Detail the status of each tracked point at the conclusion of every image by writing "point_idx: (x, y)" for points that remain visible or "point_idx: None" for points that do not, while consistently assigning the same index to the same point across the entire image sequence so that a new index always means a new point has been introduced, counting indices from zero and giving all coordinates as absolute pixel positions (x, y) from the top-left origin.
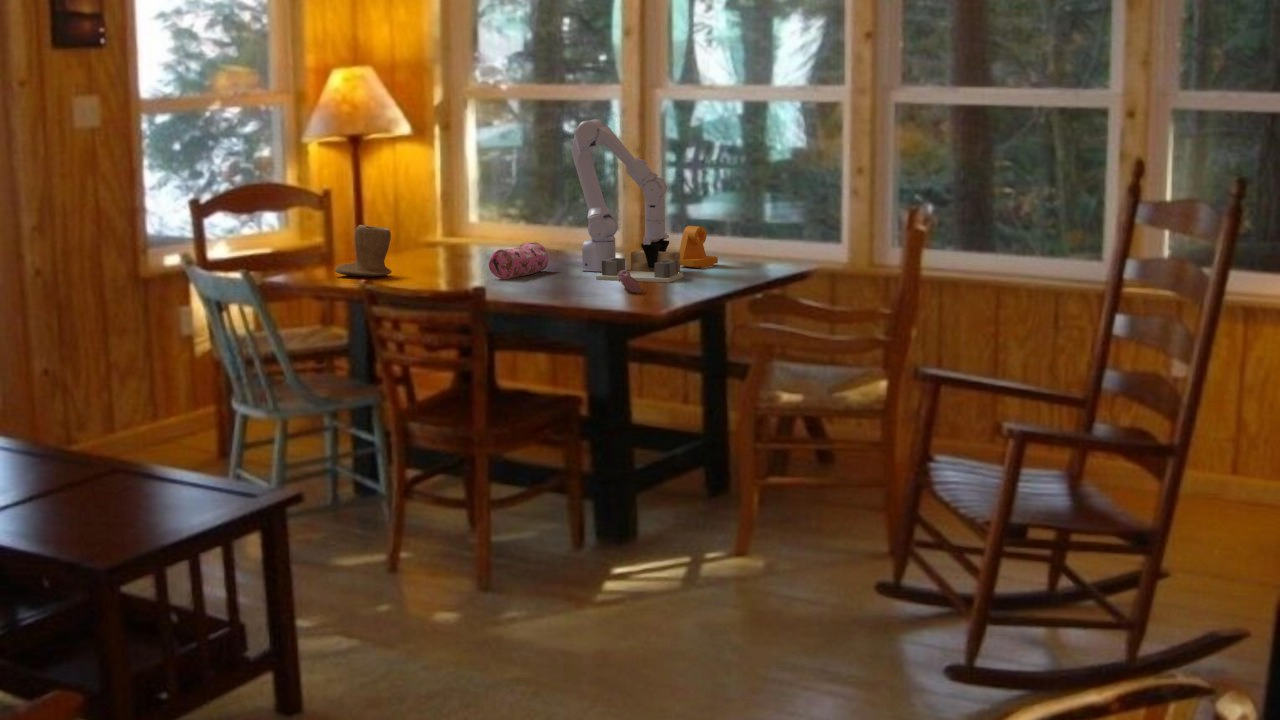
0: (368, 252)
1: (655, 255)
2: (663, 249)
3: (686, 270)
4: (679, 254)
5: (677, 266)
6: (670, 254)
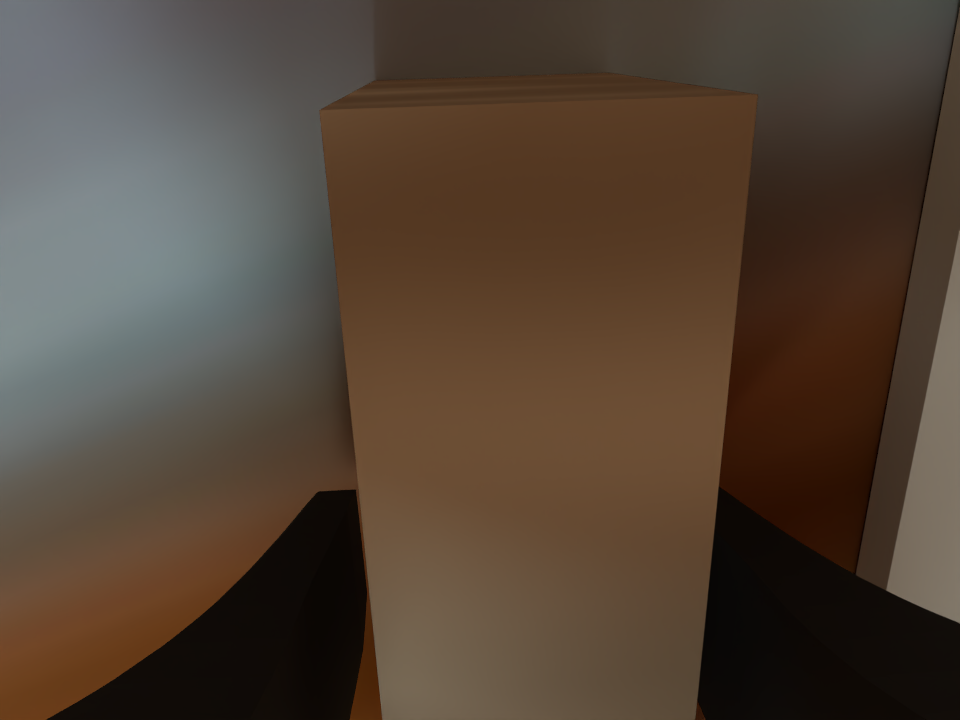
0: None
1: (877, 601)
2: (284, 697)
3: (85, 54)
4: (381, 102)
5: (540, 81)
6: (733, 284)
